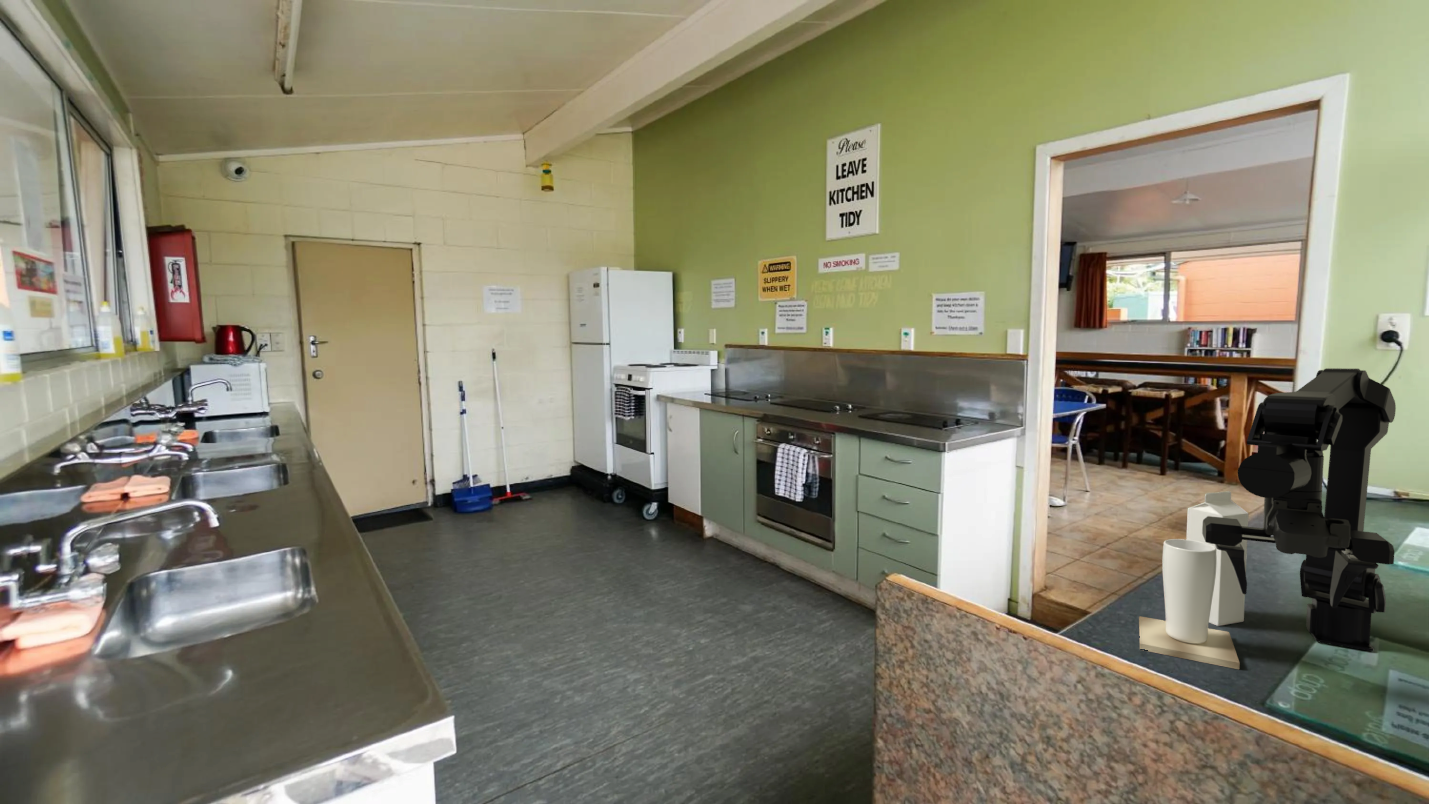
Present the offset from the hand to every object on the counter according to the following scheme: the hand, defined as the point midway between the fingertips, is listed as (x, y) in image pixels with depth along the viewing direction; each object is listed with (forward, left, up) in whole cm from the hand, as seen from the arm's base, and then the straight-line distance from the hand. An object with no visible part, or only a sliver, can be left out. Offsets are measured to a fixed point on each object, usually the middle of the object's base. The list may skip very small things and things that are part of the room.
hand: (1287, 599), depth 87 cm
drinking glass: (+10, -8, -11) cm, 17 cm away
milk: (+6, -23, -12) cm, 26 cm away
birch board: (+11, -8, -12) cm, 18 cm away
